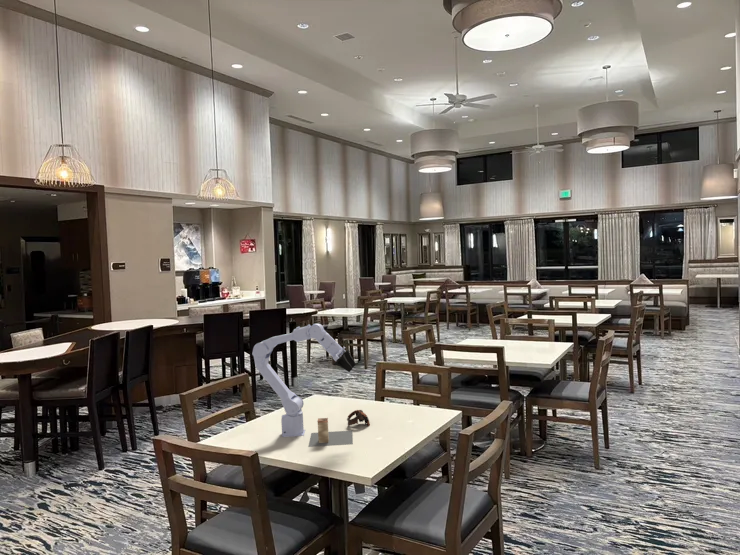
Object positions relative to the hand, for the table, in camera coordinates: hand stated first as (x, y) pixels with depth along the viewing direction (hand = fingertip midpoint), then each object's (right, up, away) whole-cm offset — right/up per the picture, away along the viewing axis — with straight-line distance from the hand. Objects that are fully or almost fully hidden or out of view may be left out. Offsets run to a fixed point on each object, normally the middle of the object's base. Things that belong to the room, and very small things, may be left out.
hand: (352, 368), depth 231 cm
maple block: (-12, -29, -8) cm, 32 cm away
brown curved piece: (+3, -28, +12) cm, 31 cm away
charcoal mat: (-9, -29, -5) cm, 31 cm away
